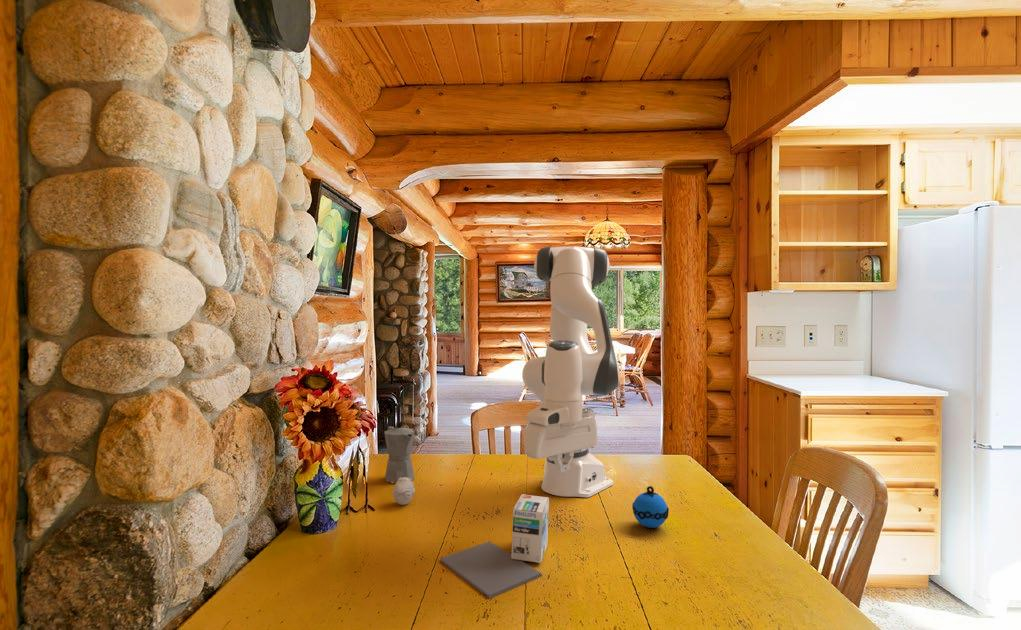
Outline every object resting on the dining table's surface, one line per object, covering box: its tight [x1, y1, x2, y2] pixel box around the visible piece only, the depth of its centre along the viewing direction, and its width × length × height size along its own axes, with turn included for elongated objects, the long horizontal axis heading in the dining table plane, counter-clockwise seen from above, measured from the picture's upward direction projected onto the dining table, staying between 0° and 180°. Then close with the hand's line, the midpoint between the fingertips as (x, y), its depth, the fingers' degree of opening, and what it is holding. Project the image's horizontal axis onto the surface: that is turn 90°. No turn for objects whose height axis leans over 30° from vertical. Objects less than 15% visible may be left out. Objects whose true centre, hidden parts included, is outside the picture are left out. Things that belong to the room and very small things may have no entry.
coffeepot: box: [383, 421, 415, 483], centre depth 166 cm, size 15×9×18 cm, turn 44°
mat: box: [439, 540, 543, 599], centre depth 110 cm, size 13×18×1 cm
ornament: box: [631, 485, 670, 529], centre depth 130 cm, size 9×9×10 cm
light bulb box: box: [510, 493, 550, 564], centre depth 117 cm, size 11×7×11 cm, turn 169°
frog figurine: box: [392, 477, 416, 506], centre depth 145 cm, size 6×7×7 cm
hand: (562, 471), depth 122 cm, fingers closed
